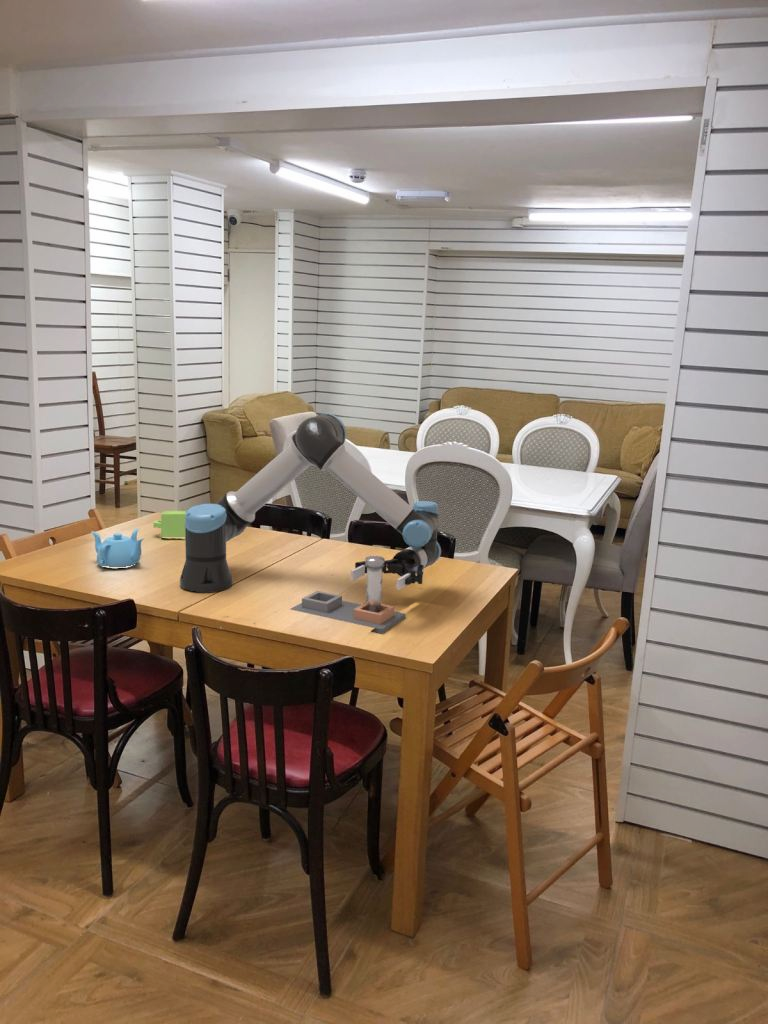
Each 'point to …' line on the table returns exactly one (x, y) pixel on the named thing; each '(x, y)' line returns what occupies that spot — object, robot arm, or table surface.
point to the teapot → (118, 550)
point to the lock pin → (374, 583)
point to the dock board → (349, 611)
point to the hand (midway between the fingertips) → (374, 580)
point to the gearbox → (172, 523)
